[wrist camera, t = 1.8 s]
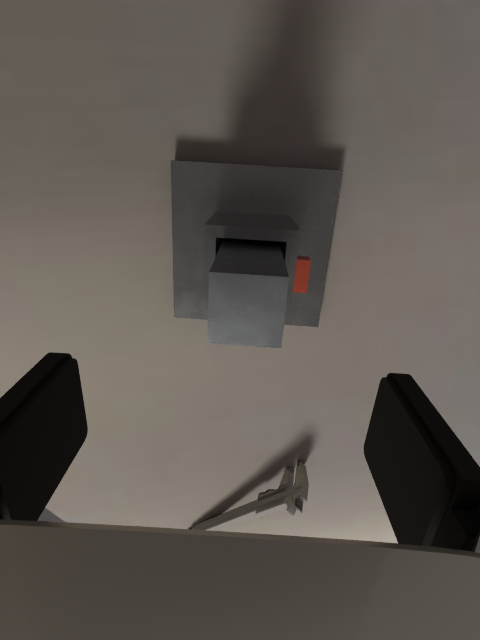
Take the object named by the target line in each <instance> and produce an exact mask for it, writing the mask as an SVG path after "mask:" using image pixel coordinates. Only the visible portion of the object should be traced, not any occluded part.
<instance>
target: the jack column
mask: <svg viewBox="0 0 480 640" xmlns="http://www.w3.org/2000/svg"><path fill="white" fill-rule="evenodd" d="M288 283H289V275H288V271H287V268H286V265H285V261H284V258H283V254H282V251H281V248H280V244H279V241H265V240H250V239H234V238H224V239H223V242H222V244H221V246H220V248H219V251H218V253H217V255H216V257H215V260H214V262H213V264H212V266H211V269H210V271H209V296H208V343H212V344H227V345H242V346H256V347H271V348H281V344H282V336H283V327H284V318H285V309H286V300H287V292H288Z"/></svg>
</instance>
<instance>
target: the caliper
mask: <svg viewBox="0 0 480 640" xmlns="http://www.w3.org/2000/svg"><path fill="white" fill-rule="evenodd" d="M293 474H294V470H293V469H291V468H290V467H289V466H288V467H287V468H286V469H285V471H284V474H283V477H282V480H281V483H280V486H279V489H276V490H274V489H269V490H267V491H266V492H261V493H259V496H258V500H255V501H253V502H250V503H248V504H245V505H243V506H240V507H238V508H236V509H233V510H231V511H228V512H226V513H223V514H221V515H218V516H216V517H213V518H211V519H208V520H206V521H203V522H200V523H199V524H197V525H196V526H194V527H192V529H191V530H207V531H220V530H223V529H225V528H228V527H231V526H233V525H236V524H239V523H241V522H244V521H247V520H249V519H252V518H255V517H257V516H259V517H260V518H263V517H266V516H269V515H272V514H275V513H278V512H281V511H284V510H286V509H287V511H288V512H289V513H290V514H291V515H294V514H295V511H296V509H297V510H299V511H300V512H301V513H302V507H303V502H306V501H307V495H308V485H309V484H308V477H307V471H306V466H305V465H304V464H303V463H302V462H301V461H297V467H296V476H295V484H294V486H293V479H294V475H293Z"/></svg>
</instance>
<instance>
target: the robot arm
mask: <svg viewBox="0 0 480 640" xmlns="http://www.w3.org/2000/svg"><path fill="white" fill-rule="evenodd" d="M87 430H88V428H87V421H86V414H85V408H84V401H83V395H82V388H81V381H80V375H79V368H78V363H77V360H76V359H72V356H71V355H70V354H67V353H48V354H46V355H45V356H44V357H43V358H42V359H41V360H40V361H39V362H38V363H37V364H36V365H35V366H34V367H33V368H32V369H31V370H30V371H29V372H27V373H26V374H25V375H24V376H23V377H22V378H21V379H20V380H19V381H18V382H17V383H16V384H15V385H14V386H13V387H12V388H11V389H9V390H8V391H7V392H6V393H5V394H4V395H3V396H2V397H1V398H0V640H480V467H479V466H478V464H477V463H476V462H475V460H474V459H473V458H472V456H471V455H470V454H469V452H468V451H467V450H466V448H465V447H464V446H463V444H462V443H461V442H460V440H459V439H458V438H457V436H456V435H455V434H454V432H453V431H452V430H451V428H450V427H449V426H448V424H447V423H446V422H445V420H444V419H443V418H442V416H441V415H440V414H439V412H438V411H437V410H436V408H435V407H434V406H433V404H432V403H431V402H430V400H429V399H428V398H427V396H426V395H425V394H424V392H423V391H422V390H421V388H420V387H419V386H418V384H417V383H416V382H415V380H414V379H413V378H412V376H411V375H409V374H398V373H389V374H388V375H387V377H383V378H382V379H381V381H380V384H379V388H378V392H377V396H376V400H375V404H374V408H373V412H372V416H371V420H370V424H369V428H368V432H367V435H366V439H365V443H364V455H365V458H366V461H367V464H368V466H369V469H370V471H371V474H372V476H373V479H374V482H375V484H376V487H377V489H378V492H379V494H380V497H381V500H382V502H383V505H384V507H385V510H386V512H387V515H388V518H389V520H390V523H391V525H392V528H393V531H394V533H395V536H396V538H397V541H398V543H399V544H397V543H385V542H373V541H360V540H345V539H330V538H315V537H300V536H285V535H271V534H255V533H239V532H223V531H207V530H190V529H174V528H157V527H140V526H122V525H104V524H86V523H68V522H50V521H37V520H38V518H39V516H40V515H41V513H42V512H43V510H44V508H45V507H46V505H47V503H48V502H49V500H50V498H51V497H52V495H53V493H54V491H55V490H56V488H57V486H58V485H59V483H60V481H61V480H62V478H63V476H64V475H65V473H66V471H67V470H68V468H69V466H70V465H71V463H72V461H73V459H74V458H75V456H76V454H77V453H78V451H79V449H80V448H81V446H82V444H83V443H84V441H85V439H86V436H87Z"/></svg>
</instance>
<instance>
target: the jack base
mask: <svg viewBox="0 0 480 640" xmlns="http://www.w3.org/2000/svg"><path fill="white" fill-rule="evenodd" d="M341 176H342V170H327V169H310V168H293V167H276V166H259V165H242V164H225V163H208V162H191V161H174V160H171V186H172V233H173V280H174V317H177V318H192V319H207V320H208V296H209V271H210V269H211V266H212V264H213V262H214V260H215V257H216V255H217V253H218V251H219V248H220V246H221V244H222V242H223V239H224V238H234V239H250V240H265V241H279V244H280V248H281V251H282V254H283V258H284V261H285V265H286V268H287V271H288V275H289V283H288V292H287V300H286V309H285V318H284V325H297V326H312V327H318V324H319V317H320V311H321V304H322V298H323V292H324V285H325V279H326V272H327V266H328V260H329V253H330V247H331V240H332V234H333V227H334V221H335V215H336V208H337V202H338V195H339V189H340V183H341Z"/></svg>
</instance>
